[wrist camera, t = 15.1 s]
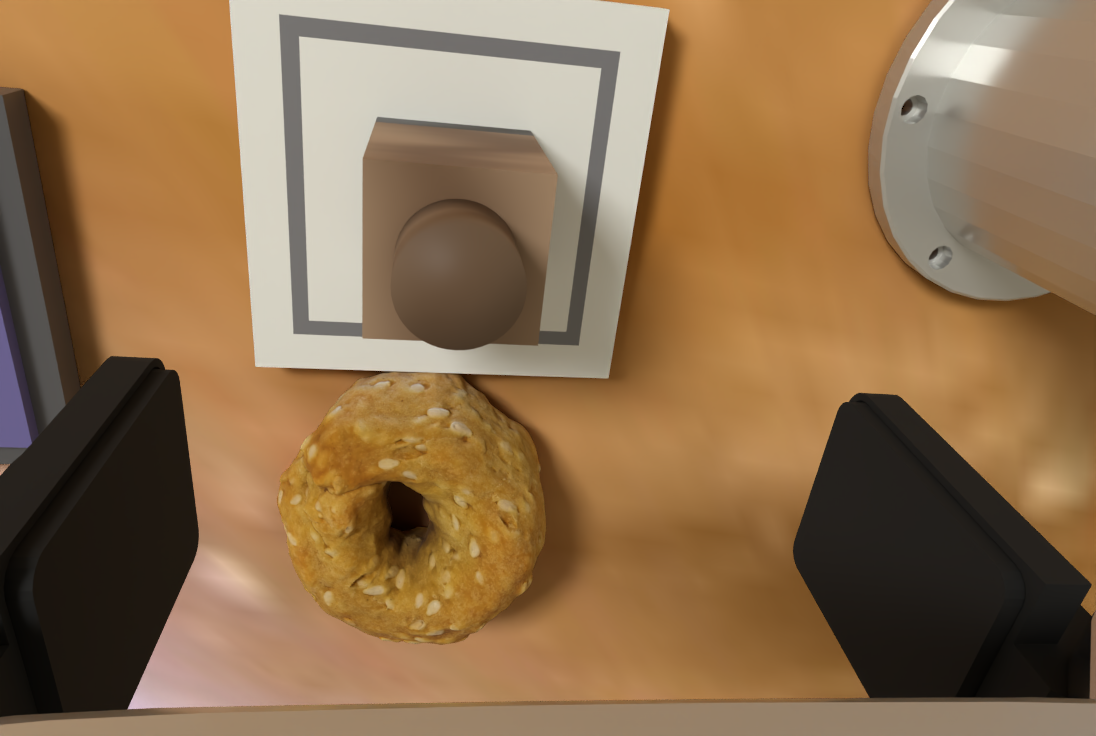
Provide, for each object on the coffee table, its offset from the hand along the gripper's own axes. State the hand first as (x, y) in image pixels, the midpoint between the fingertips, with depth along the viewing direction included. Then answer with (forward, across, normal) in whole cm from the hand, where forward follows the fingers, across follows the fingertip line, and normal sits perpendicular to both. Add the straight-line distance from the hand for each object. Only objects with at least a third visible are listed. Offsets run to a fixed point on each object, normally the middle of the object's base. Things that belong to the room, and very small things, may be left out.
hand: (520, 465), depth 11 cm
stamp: (+14, +1, 0) cm, 14 cm away
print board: (+16, +1, 0) cm, 16 cm away
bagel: (+16, +2, +12) cm, 20 cm away
